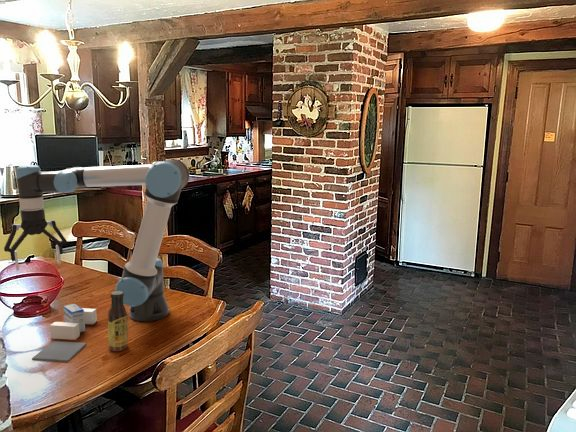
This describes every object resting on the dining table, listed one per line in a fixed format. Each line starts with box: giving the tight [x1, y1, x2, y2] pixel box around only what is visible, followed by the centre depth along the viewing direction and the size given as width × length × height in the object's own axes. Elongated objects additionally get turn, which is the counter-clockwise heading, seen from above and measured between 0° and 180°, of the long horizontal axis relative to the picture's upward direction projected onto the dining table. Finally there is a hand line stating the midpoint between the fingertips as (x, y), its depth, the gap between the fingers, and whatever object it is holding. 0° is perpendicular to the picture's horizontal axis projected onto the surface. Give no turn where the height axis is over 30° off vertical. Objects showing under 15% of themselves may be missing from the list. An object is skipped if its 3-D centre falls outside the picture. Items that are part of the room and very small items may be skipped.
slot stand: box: [49, 307, 98, 341], centre depth 174 cm, size 9×16×5 cm, turn 176°
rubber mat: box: [31, 340, 87, 363], centre depth 158 cm, size 12×12×1 cm
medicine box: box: [62, 303, 86, 333], centre depth 174 cm, size 8×4×9 cm, turn 47°
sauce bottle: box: [107, 290, 129, 352], centre depth 159 cm, size 6×6×20 cm
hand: (38, 266), depth 173 cm, fingers open, 13 cm apart
